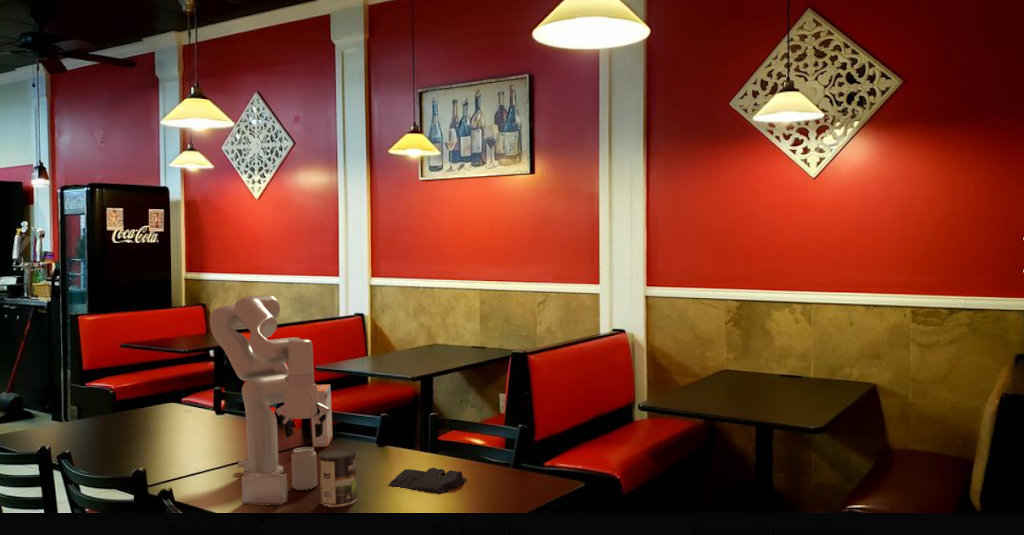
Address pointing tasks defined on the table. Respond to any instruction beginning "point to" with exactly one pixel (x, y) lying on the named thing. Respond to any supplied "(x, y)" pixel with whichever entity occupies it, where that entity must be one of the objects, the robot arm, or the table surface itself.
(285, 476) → the pinkish brown box
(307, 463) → the can
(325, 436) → the cracker box
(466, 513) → the table surface
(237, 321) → the robot arm
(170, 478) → the table surface
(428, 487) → the dark slate chunk
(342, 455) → the coffee can
